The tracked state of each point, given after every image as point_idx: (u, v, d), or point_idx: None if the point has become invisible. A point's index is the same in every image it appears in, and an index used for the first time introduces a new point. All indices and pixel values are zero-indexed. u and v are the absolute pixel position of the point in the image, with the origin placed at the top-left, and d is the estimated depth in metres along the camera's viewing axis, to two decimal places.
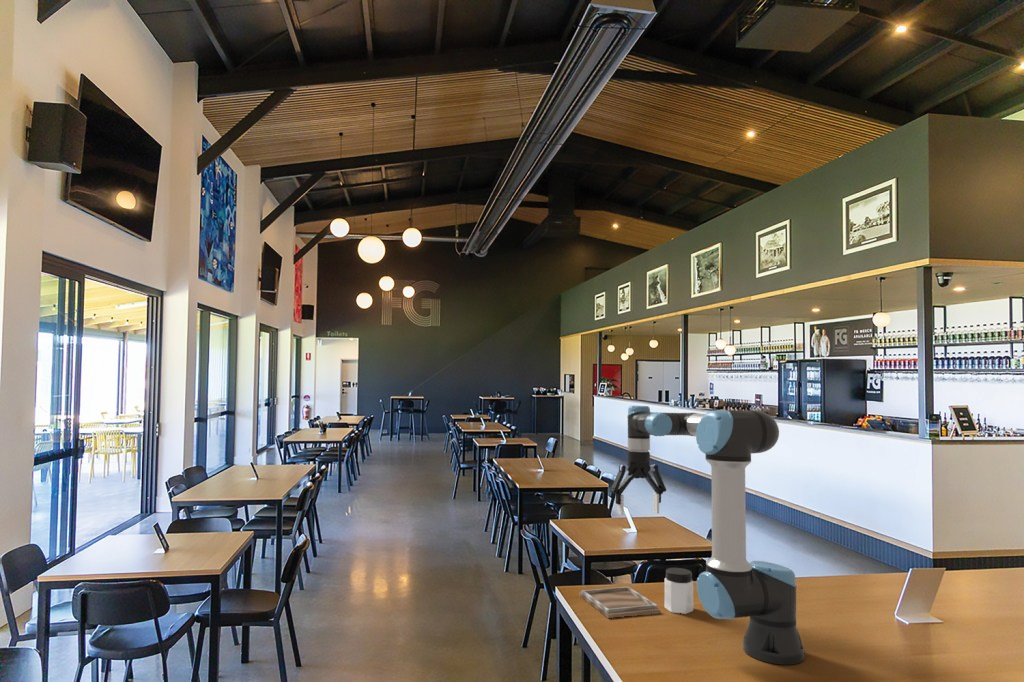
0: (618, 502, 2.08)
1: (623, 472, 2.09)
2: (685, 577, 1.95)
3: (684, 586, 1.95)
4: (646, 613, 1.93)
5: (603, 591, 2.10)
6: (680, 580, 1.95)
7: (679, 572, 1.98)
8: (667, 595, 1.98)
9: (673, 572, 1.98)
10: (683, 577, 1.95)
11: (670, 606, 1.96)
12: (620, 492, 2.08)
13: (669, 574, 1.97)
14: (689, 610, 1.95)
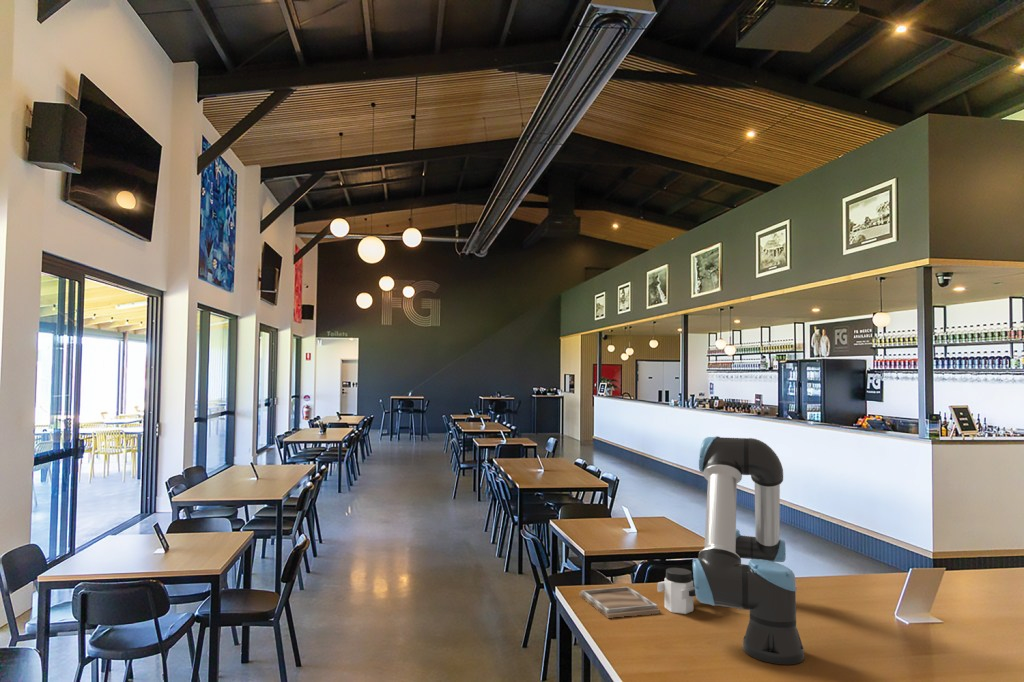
0: None
1: None
2: (685, 577, 1.95)
3: (684, 586, 1.95)
4: (646, 613, 1.93)
5: (603, 591, 2.10)
6: (680, 579, 1.95)
7: (679, 572, 1.98)
8: (667, 595, 1.98)
9: (673, 572, 1.98)
10: (683, 577, 1.95)
11: (670, 606, 1.96)
12: None
13: (669, 574, 1.97)
14: (689, 610, 1.95)
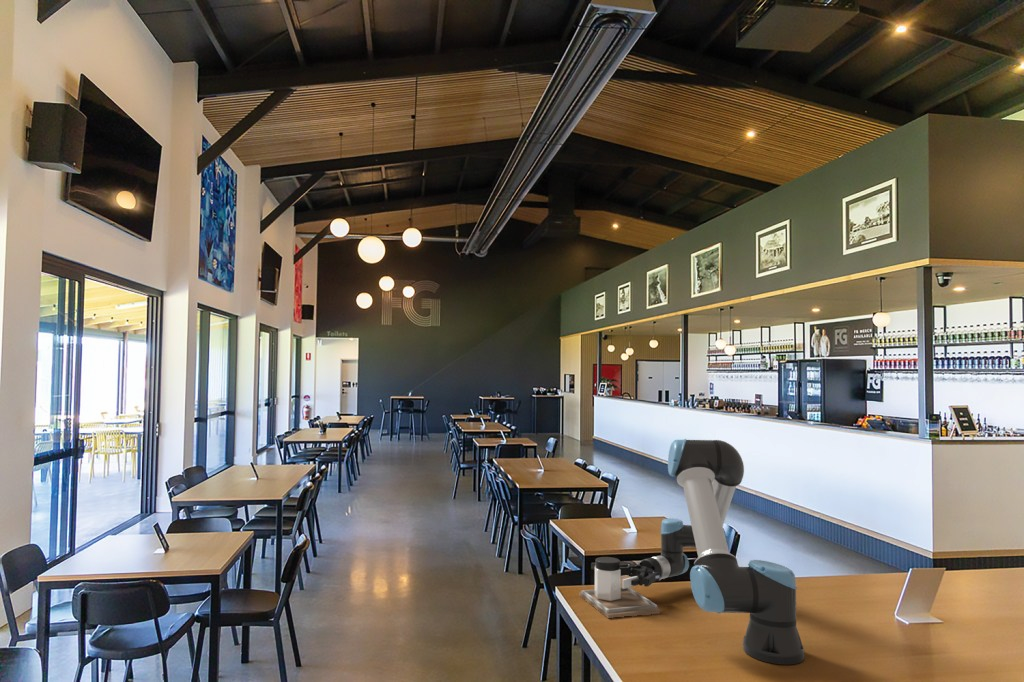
0: None
1: (625, 564, 2.14)
2: (610, 565, 2.02)
3: (609, 574, 2.02)
4: (646, 613, 1.93)
5: None
6: (605, 567, 2.02)
7: (606, 560, 2.05)
8: (595, 582, 2.05)
9: (600, 560, 2.05)
10: (608, 565, 2.02)
11: (597, 593, 2.03)
12: None
13: (596, 562, 2.05)
14: (615, 598, 2.02)
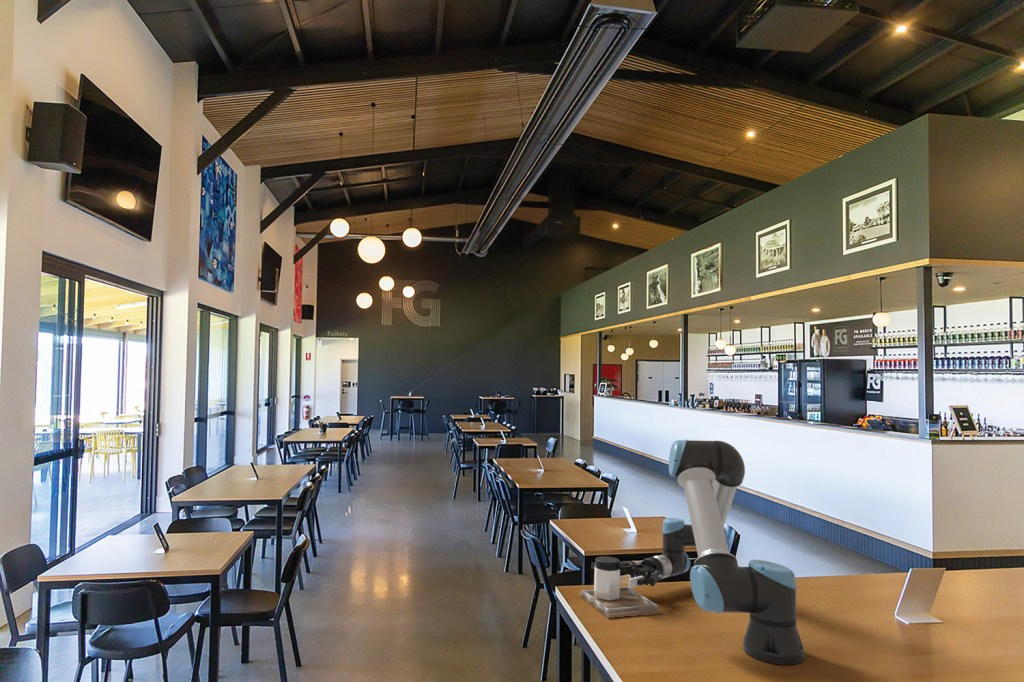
0: None
1: (627, 563, 2.15)
2: (609, 565, 2.02)
3: (607, 574, 2.02)
4: (646, 613, 1.93)
5: None
6: (604, 567, 2.03)
7: (606, 560, 2.05)
8: (595, 581, 2.06)
9: (600, 560, 2.05)
10: (607, 565, 2.02)
11: (595, 592, 2.04)
12: None
13: (596, 561, 2.05)
14: (613, 598, 2.02)
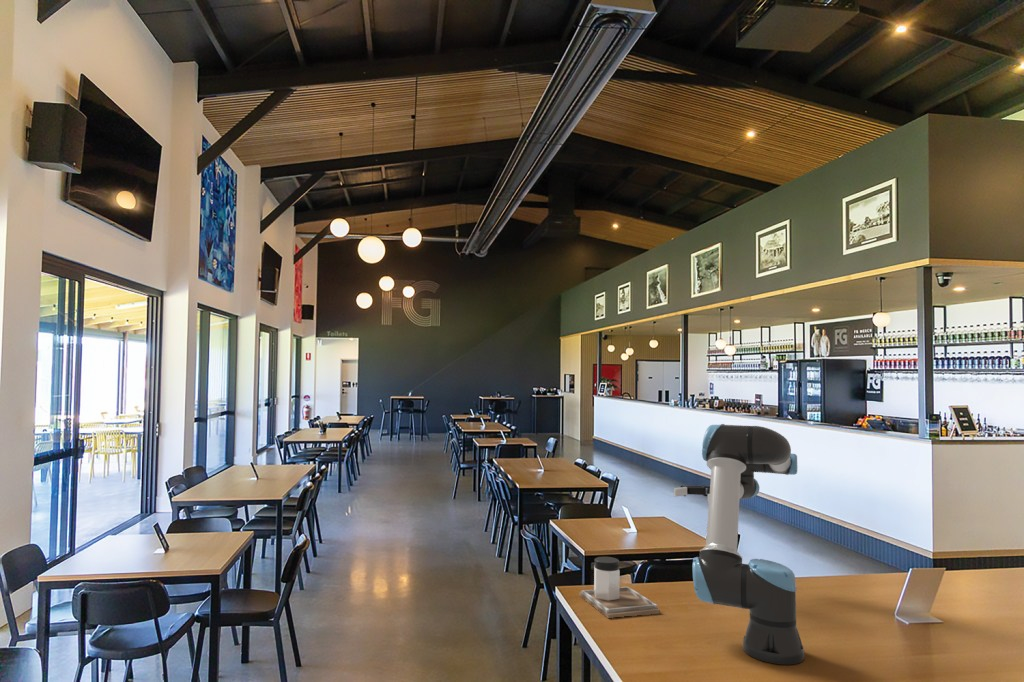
0: None
1: (700, 486, 2.22)
2: (608, 565, 2.02)
3: (607, 574, 2.02)
4: (646, 613, 1.93)
5: None
6: (603, 567, 2.03)
7: (605, 560, 2.05)
8: (594, 582, 2.06)
9: (599, 560, 2.05)
10: (606, 565, 2.02)
11: (595, 592, 2.04)
12: (686, 486, 2.19)
13: (595, 562, 2.05)
14: (613, 598, 2.02)
